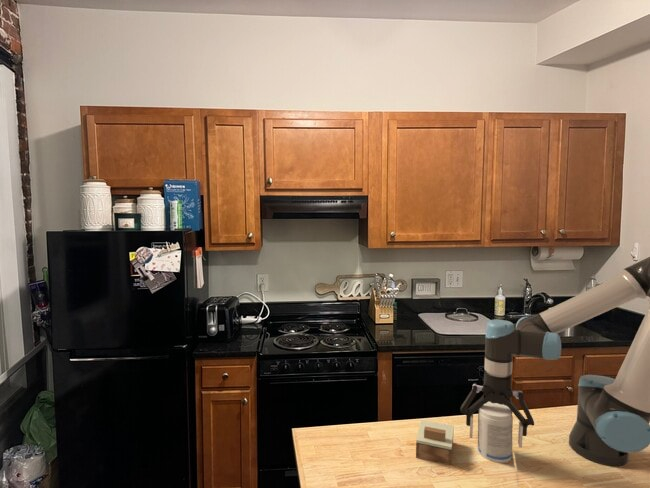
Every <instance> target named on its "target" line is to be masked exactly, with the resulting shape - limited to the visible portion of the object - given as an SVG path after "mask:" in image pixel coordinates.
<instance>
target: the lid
mask: <svg viewBox="0 0 650 488" xmlns="http://www.w3.org/2000/svg"><path fill="white" fill-rule="evenodd" d="M453 430H454V425H450V424H445V423H439V422H435V421H434V422H433V421H429V420H424V419H421V421H420V424H419V429H418V432H417V436H416V439H415V441H416V443H421V444H426V445H430V446H435V447H440V448H445V449H450V450H452V441H453V442H454V433H453ZM416 443H415V444H416ZM452 451H453V450H452Z"/></svg>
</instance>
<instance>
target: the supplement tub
mask: <svg viewBox="0 0 650 488" xmlns="http://www.w3.org/2000/svg"><path fill="white" fill-rule="evenodd" d="M477 411H478V413H477V417H478V418H477V452H478V454H479V455H480V457H482V458H484V459H486V460H487V461H490V462H493V463H497V464H498V463H499V464H503V463H508V462H510V461H511V460H512V456H513V427H514V426H513V425H514V424H513V423H514V422H513V419H514V418H513V412H512V411H511V409H510V408H509V407H508V406H507V405H506V404H503V405H501V404H498V403H491V402H490V401H488V402H487V403H486V404H484V405H483V406H482V407H480V408H479V409H478V410H477Z"/></svg>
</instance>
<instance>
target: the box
mask: <svg viewBox="0 0 650 488" xmlns="http://www.w3.org/2000/svg"><path fill="white" fill-rule="evenodd" d="M453 434H454V430H453ZM453 448H454V440H453V441H452V450H450V449H445V448H440V447H435V446H430V445H426V444H421V443H415V459H420V460H424V461H429V462H432V463H438V464H441V465H447V466H452V462H453V461H452V460H453V459H452V458H453V450H454V449H453Z"/></svg>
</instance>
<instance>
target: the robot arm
mask: <svg viewBox="0 0 650 488" xmlns="http://www.w3.org/2000/svg"><path fill="white" fill-rule="evenodd" d="M638 298H639V299H646V300H647V301H648V303H649V304H650V256H648V257H646V258H643V259H642V260H641V259H640V261H638V262H637V261H636V262H635V263H633V264H631V265H629V266H627V267H624V268H623V269H621V271H620V274H619V275H618V276H614V277H613V278H611V279H609V280H607V281H605V282H602V283H600V284H598V285H596V286H594V287H592V288H590V289H587V290H586V291H584V292H582V293H580V294H577V295H575V296H574V297H571V298H569V299H567V300H565V301H563V302H561V303H559V304H558V303H557V304H556V305H555V306H552V307H550V308H548V309H546V310H544V311H541V312H539V313H538V314H537V313H536V314H535V315H533V316H523V317H521V318H519V319H518V320H517V322H516V325H515V324H514V323H513V322H511V321H509V320H504V319H496V318H495V319H490V320H489V321H487V323H486V326H485V327H486V328H485V341H484V342H485V344H484V345H485V346H484V372H483V384H482V385H478V384H477V383H476V382H474V383H472V388H471V391H470V392H469V394H468V395H467V396H466V398H465V400H464V401H463V402H462V404H461V406H460V413H461V414H464V415H465V417H466V419H465V425H466V426H467V427H469V438H470V439H473V432H474V431H473V428H474V414H475V413H476V412H477V411H478V410H479V408H480V407H482V406H483V405H484V404H486V403H487V402H491V403H498V404H501V405H506V406H507V407H509V408H510V409H511V411H512V414H514V417H516V418H517V419H518V436H517V438H518V439H517V443H518V448H520V449H521V448H523V437H527V434H528V432H527V431H528V426H535V422H534V418H533V416H532V414H531V412H530V410H529V408H528V406H527V404H526V401H525V399H524V394H523V390H522V389H518V390H512V379H513V378H512V377H513V376H512V373H513V356H517V357H525V358H526V357H527V358H532V359H533V358H534V359H542V360H553V361H555V360H558V359H560V357H561V355H562V342H561V341H562V340H561V337H560V335H559V333H562V332H563V331H566V330H569V329H571V328H573V327H576V326H579V325H580V324H582V323H584V322H586V321H589V320H591V319H593V318H594V317H598V316H600V315H602V314H604V313H606V312H609V311H610V310H612V309H615V308H617V307H620V306H622V305H624V304H627V303H628V302H631V301H633V300H635V299H638ZM577 386H578V392H577V410H576V421H575V423H574V425H573V427H572V428H571V431H570V433H569V435H568V445H569V447H570V448H571V450H573V451H574V452H575V453H576V454H578V455H579V456H581V457H583V458H585V459H587V460H588V461H591V462H594V463H598V464H602V465H605V466H612V467H613V466H614V467H616V466H618V467H619V466H623V465H624V466H625V465H626V464H627V463H628V461H629V453H631V454H632V453H635V452H642V451H643V450H645V449H647V448H648V447H649V446H650V305H649V306H648V309H647V311H646V312H645V315H644V317H643V319H642V321H641V324H640V325H639V327H638V330H637V332H636V334H635V336H634V339H633V341H632V342H631V344H630V347H629V349H628V352H627V353H626V355H625V357H624V360H623V362H622V364H621V367H619V370H618V372H617V375H616V377H615V378H613V377H610V376H605V375H604V376H603V375H596V374H584V375H582V376H580V377H579V381H578V384H577ZM480 392H482V393H483V395H481V397H480V398H479V399H478V400H476V401H475V402H474V403H473V404H472V405H471V406H470V404H471V403H472V402H473V401H474V399H475V397H476V395H477V394H478V393H480ZM513 396H514V397H515V399H516V400H518V401H519V404H520V407H521V408H522V411H523V413H524V415H525V416H523V414H522V413H521V411H520V410H519V409H518V408H517V406H516V405H515V404H514V403H513V401H512V400H511V398H513ZM469 406H470V407H469Z"/></svg>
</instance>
